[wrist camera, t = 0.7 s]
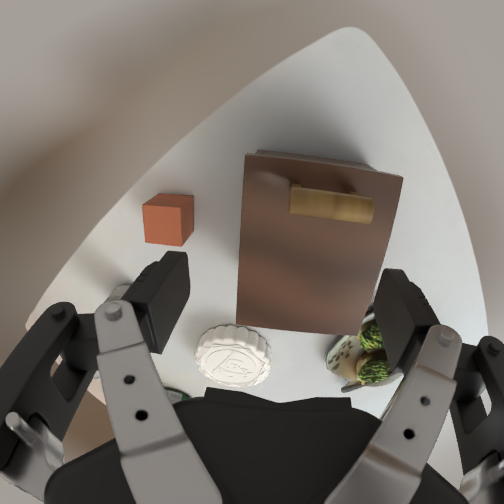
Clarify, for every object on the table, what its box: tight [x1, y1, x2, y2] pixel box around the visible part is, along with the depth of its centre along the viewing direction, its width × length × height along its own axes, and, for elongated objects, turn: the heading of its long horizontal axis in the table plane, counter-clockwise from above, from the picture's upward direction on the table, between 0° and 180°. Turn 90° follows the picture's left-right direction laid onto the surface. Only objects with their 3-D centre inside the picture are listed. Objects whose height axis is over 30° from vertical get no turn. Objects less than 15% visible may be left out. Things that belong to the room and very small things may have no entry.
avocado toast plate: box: [326, 309, 403, 393], centre depth 39 cm, size 19×18×5 cm
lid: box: [236, 153, 403, 336], centre depth 22 cm, size 16×13×5 cm
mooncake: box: [194, 325, 272, 387], centre depth 43 cm, size 12×12×4 cm
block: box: [142, 194, 194, 247], centre depth 32 cm, size 5×5×5 cm
